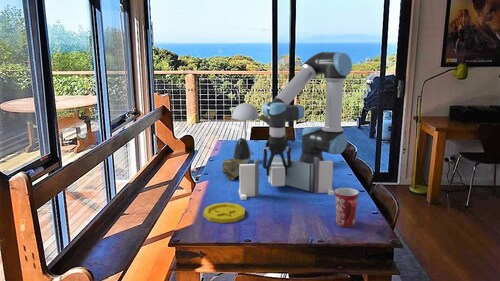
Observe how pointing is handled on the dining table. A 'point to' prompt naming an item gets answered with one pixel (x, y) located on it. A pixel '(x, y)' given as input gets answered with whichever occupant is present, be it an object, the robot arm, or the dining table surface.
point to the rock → (232, 168)
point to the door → (299, 174)
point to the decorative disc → (224, 212)
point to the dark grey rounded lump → (242, 150)
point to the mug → (346, 206)
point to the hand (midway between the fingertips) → (276, 181)
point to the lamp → (245, 114)
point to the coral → (267, 120)
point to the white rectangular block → (277, 174)
